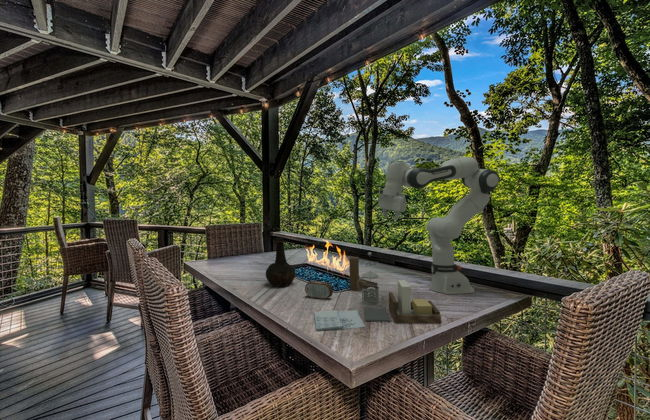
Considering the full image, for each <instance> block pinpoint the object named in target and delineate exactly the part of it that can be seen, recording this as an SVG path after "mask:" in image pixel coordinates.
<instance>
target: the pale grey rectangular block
mask: <svg viewBox="0 0 650 420" xmlns="http://www.w3.org/2000/svg"><path fill="white" fill-rule="evenodd" d="M411 289H412V288H411V285H410V283H409V282H408V281H407V279H397V302H398V310H397V313H398V314H412V310H411V302H412V293H411V291H412V290H411Z"/></svg>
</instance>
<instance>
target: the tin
mask: <svg viewBox="0 0 650 420" xmlns="http://www.w3.org/2000/svg"><path fill="white" fill-rule="evenodd" d="M304 291H305V293H306V296H307V297H309V298H313V299H320V300H328V299H329V298H331V297H332V296H333V293H334V290H333V287H332V285H331V284H330V283H328V282H327V281H318V280H310V281H309V282H307V283H306V285H305V286H304Z"/></svg>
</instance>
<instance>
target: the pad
mask: <svg viewBox="0 0 650 420" xmlns="http://www.w3.org/2000/svg"><path fill="white" fill-rule="evenodd" d="M363 314H364V315H363V316H364V320H365V322H367V323H368V322H371V323H372V322H375V323H377V322H378V323H379V322H382V323H383V322H384V323H385V322H387V323H389V322H391V319H390V316H389V313H388V311H387V308H386V307H385V308H382V307H381V308H380V307H373V308H370V307H363Z"/></svg>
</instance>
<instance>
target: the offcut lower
mask: <svg viewBox="0 0 650 420" xmlns="http://www.w3.org/2000/svg"><path fill="white" fill-rule="evenodd" d="M412 312H413V314H432V313H417V312H416V311H415V309H414V308H413V310H412Z"/></svg>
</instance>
